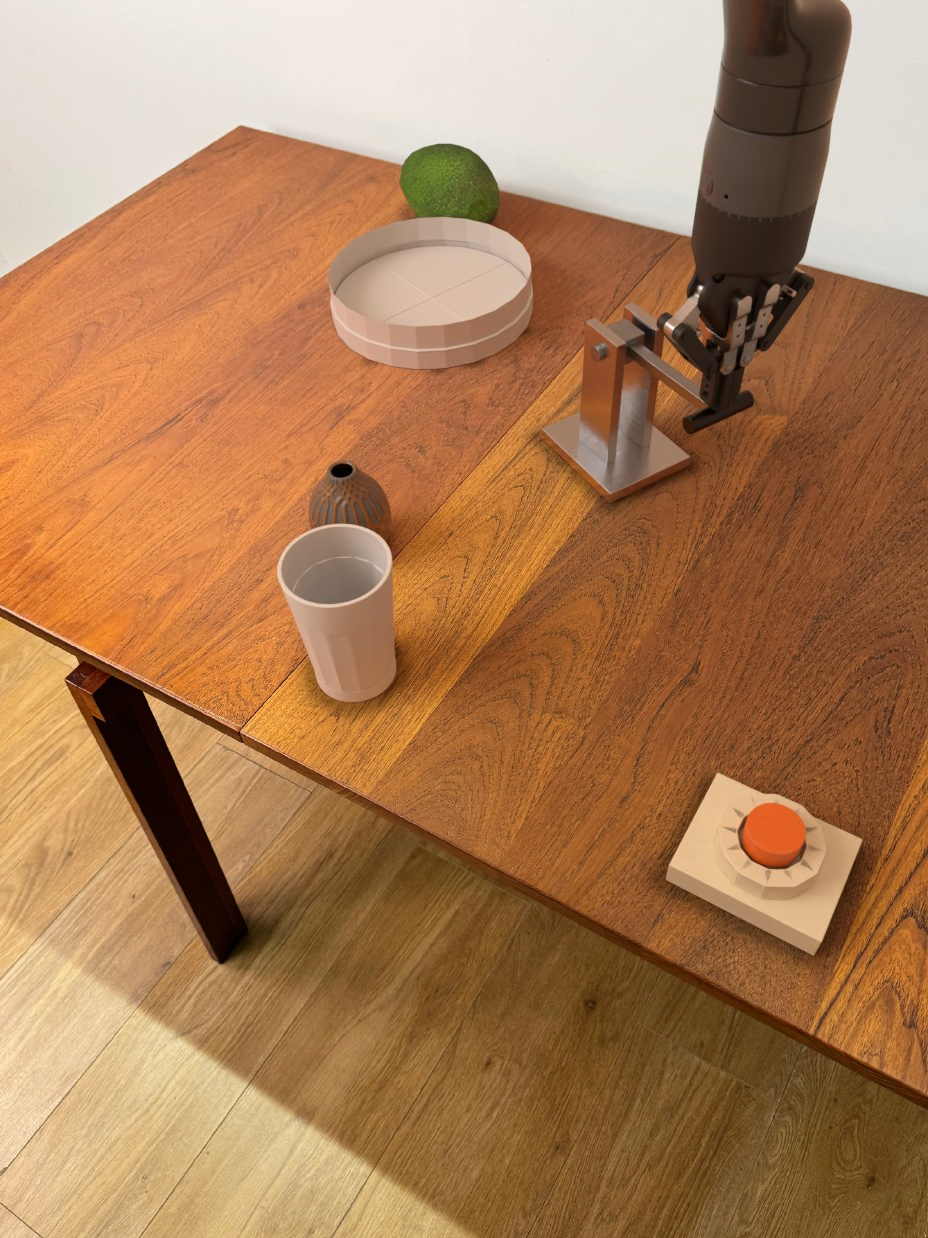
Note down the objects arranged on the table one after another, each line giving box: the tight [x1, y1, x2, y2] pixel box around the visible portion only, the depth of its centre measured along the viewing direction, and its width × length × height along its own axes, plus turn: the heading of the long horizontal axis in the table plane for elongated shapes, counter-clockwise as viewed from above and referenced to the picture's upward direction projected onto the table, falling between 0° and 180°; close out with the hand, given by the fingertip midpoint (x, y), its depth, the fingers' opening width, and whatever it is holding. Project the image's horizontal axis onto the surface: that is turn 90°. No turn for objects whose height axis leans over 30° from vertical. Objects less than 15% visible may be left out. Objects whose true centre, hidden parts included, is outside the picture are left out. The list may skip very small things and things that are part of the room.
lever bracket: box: [540, 302, 691, 504], centre depth 88 cm, size 11×9×14 cm
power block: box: [665, 772, 863, 956], centre depth 64 cm, size 10×8×4 cm
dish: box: [327, 217, 534, 370], centre depth 108 cm, size 22×22×5 cm
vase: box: [308, 459, 392, 543], centre depth 83 cm, size 7×7×9 cm
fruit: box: [399, 143, 501, 225], centre depth 118 cm, size 15×10×10 cm, turn 31°
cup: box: [276, 524, 397, 703], centre depth 73 cm, size 8×8×12 cm
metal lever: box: [605, 318, 755, 436], centre depth 81 cm, size 14×6×2 cm, turn 31°
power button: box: [742, 803, 806, 867], centre depth 62 cm, size 4×4×2 cm
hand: (717, 403), depth 77 cm, fingers closed
